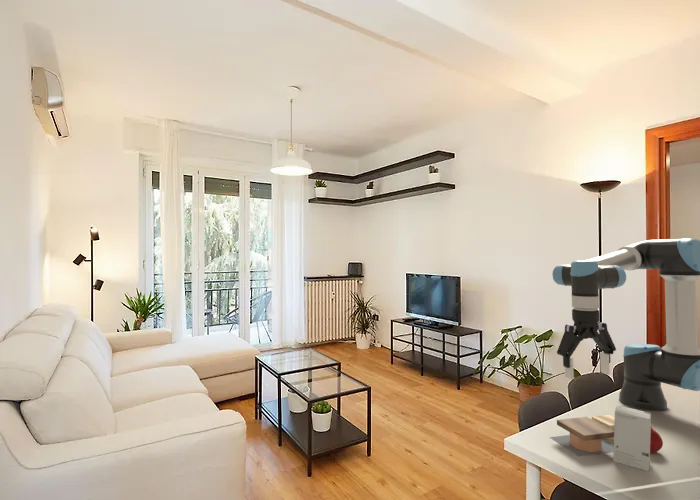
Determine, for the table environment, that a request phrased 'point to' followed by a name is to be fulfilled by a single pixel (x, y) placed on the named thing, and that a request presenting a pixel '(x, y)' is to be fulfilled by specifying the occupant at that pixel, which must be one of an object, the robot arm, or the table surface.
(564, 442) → the placemat
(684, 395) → the table surface
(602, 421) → the light wooden block
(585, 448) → the bowl
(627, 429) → the skincare box
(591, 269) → the robot arm
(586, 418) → the board
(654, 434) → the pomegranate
